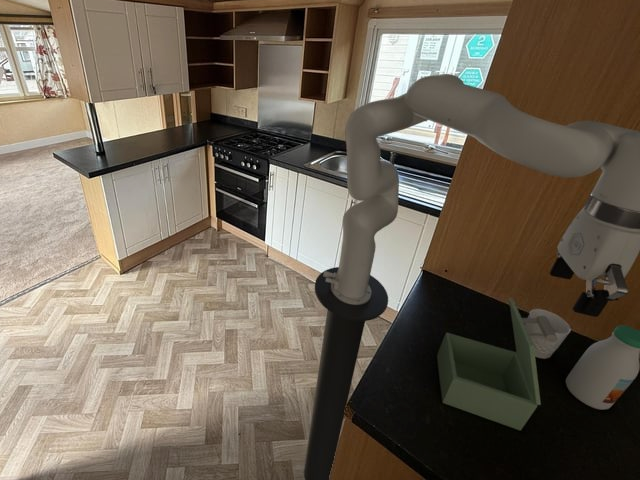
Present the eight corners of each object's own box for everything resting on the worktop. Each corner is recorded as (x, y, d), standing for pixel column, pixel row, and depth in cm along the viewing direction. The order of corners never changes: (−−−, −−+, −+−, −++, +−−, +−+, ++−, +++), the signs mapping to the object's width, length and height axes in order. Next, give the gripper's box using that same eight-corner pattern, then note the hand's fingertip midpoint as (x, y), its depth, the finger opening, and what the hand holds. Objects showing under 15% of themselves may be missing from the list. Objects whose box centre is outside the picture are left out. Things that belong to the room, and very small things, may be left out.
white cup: (561, 361, 79) (580, 334, 75) (531, 361, 79) (547, 334, 75) (536, 334, 86) (551, 308, 82) (508, 334, 86) (522, 308, 82)
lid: (529, 345, 57) (566, 347, 55) (508, 298, 67) (539, 298, 65) (536, 404, 61) (571, 408, 59) (516, 351, 72) (545, 353, 69)
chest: (442, 402, 70) (453, 378, 66) (436, 355, 81) (446, 332, 77) (520, 430, 65) (537, 406, 61) (503, 376, 76) (517, 352, 72)
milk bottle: (581, 408, 69) (629, 348, 60) (556, 375, 76) (596, 316, 67) (620, 413, 68) (675, 353, 59) (591, 379, 75) (636, 320, 66)
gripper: (564, 186, 57) (529, 260, 65) (619, 235, 43) (566, 323, 51) (618, 193, 55) (574, 269, 62) (696, 247, 40) (627, 338, 48)
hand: (571, 293), depth 56 cm, fingers open, 9 cm apart
